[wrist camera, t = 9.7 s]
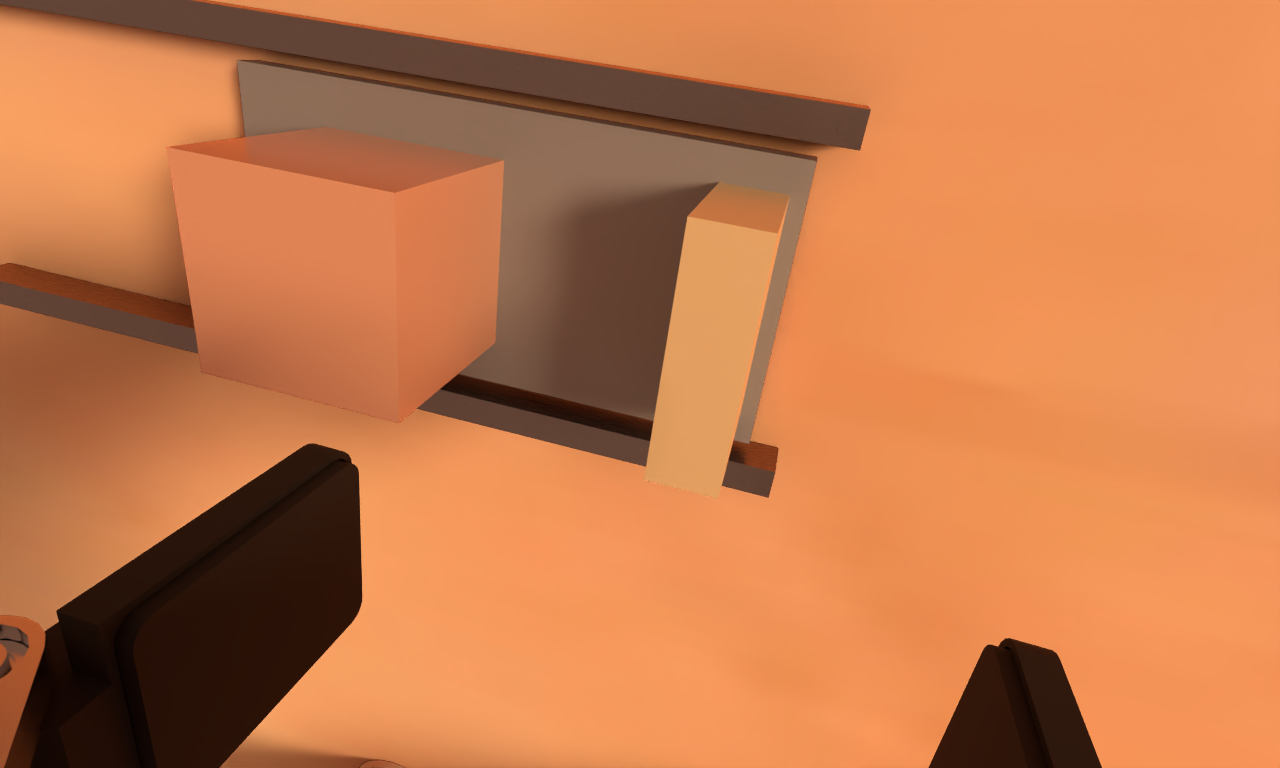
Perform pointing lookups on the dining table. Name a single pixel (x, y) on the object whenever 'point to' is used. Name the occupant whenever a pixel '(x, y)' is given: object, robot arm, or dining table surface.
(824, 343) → the dining table surface
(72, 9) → the rails
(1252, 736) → the dining table surface
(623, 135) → the grey sliding tray
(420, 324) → the block
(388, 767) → the coffee cup
